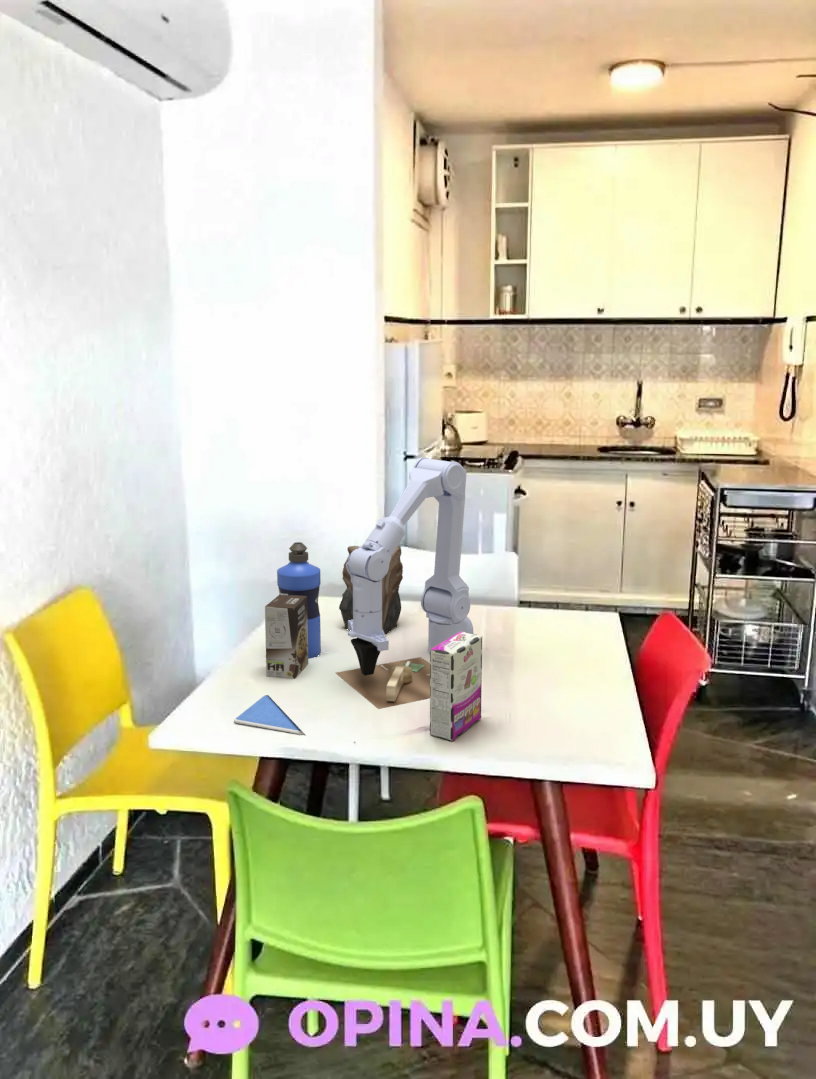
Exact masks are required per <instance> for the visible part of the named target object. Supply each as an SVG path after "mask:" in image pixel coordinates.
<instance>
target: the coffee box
mask: <svg viewBox="0 0 816 1079" xmlns="http://www.w3.org/2000/svg"><path fill="white" fill-rule="evenodd" d="M264 617H265V618H264V620H265V621H264V624H265V627H264V630H265V664H266V665H265V668H266V669H265V670H266V674H265V676H266V677H267V678H279V679H290V680H295V679H297V678H298V676H300V674H301V673H302V672H303V671H304V669H305V668H307V666H308V665H309V659H308V618H307V596H298V595H279V594H278V595H277V596H276V597H275V598H273V599H272V600H271V601H270V602H269V603H267V604H266V605H265V606H264Z"/></svg>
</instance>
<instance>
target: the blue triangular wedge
mask: <svg viewBox="0 0 816 1079" xmlns="http://www.w3.org/2000/svg"><path fill="white" fill-rule="evenodd" d="M233 720H234V721H233V723H235V724H240V725H246V726H251V727H256V726H257V728H263V729H267V730H268V729H269V730H273V731H279V732H284V733H290V734H295V735H299V736H300V735H301V736H306V734H305V732H303V730H302V729H301V728H300V727H299V726H298V725H297V724H296V723H295V722H294V721H293V720H292V719H291V718H290V717H289V715H287V714H286V712H285V711H284V710H283V709H282V708H281V707H280V706H279V705H278V704H277V702H276V701H274V700H273V699H272V697H271V696H270V695H268V694H266V695H263V696H261V697H260V698H259V699H257V700H256V701H255V702H254V703H252V704H251V705H250V706H249V707H248V708H246V709H244V711H242V712H241V713H240V714H238V715H237V716H236V717H235V718H234V719H233Z"/></svg>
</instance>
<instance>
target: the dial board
mask: <svg viewBox="0 0 816 1079" xmlns="http://www.w3.org/2000/svg"><path fill="white" fill-rule="evenodd" d="M407 661H410V665H409V667H410V668H412V681H410V682H408V683H403V685H402V687H401V689H400V691H399V693H398V696H397V698H396V700H395V701H386V686H387V684H388V682H389V680H390V669H391V668H392V667H395V666H405V665H406V663H407ZM335 675H337V676H338V677H340V678H341V679H342V680H343V681H344V682H345V683H346V684H348V685H349V686H350V687H351V688H352V689H353V690H355V691H356V692H357V693H358V694H360V695H361V696H362V697H363V698H364V699H366V700H367V702H369V703H371V705H373V706H374V707H375V708H377V710H380V709H386V708H390V707H395V706H400V705H404V704H410V703H414V702H418V701H424V700H428V699H429V700H430V661H427V660H426V659H425V658H423V657H422V656H420V657H413V658H409V659H402V660H397V661H393V662H386V663H382V664H376V667H375V670H374V674H371V675H366V676H365V675H363V674H362V672H361V669H360V668H353V669H348V670H343V671H338V672H335Z"/></svg>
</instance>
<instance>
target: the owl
mask: <svg viewBox="0 0 816 1079" xmlns="http://www.w3.org/2000/svg"><path fill="white" fill-rule="evenodd" d="M360 547H361V546H359V545H349V546H347V552H348V557H347V558H346V560H345V562H344V564H343V568H342V580H343V582H344V583H345V586H346V589H345V591H344V592H343V593H342V595H341V596H342V597H341V601H340V603H339V605H338V609H339V611H340V615H341V618H342V620H343V624H344V630H345V629H348V620H353V584H352V582H351V576H350V574H349V573H348V571H347V568H346V563H348V558H349V556H350V554H351V553H352V552H353V551H354V550H355V549H358V548H360ZM401 556H402V547H401V546H400V545H398V546H397V547H396V549H395V550H394V552H393V553H392V555H391V560H390V563H389V570H388V572H387V574H386V575H385V576H384V577H383V578H382V629H383V631H384V634H386V635H387V634H388V633H389V631H390V632H392V631H393V629H395V627H396V628H397V627H398V622H399V618H400V615H401V612H402V602H401V597H400V592H399V590H400V585H401V584H402V583H401V582H402V580H403V579H404V577H403V573H404V569H403V568H404V566H403V563H402V561H401ZM348 630H349V629H348ZM348 630H347V631H348ZM391 630H392V631H391Z"/></svg>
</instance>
